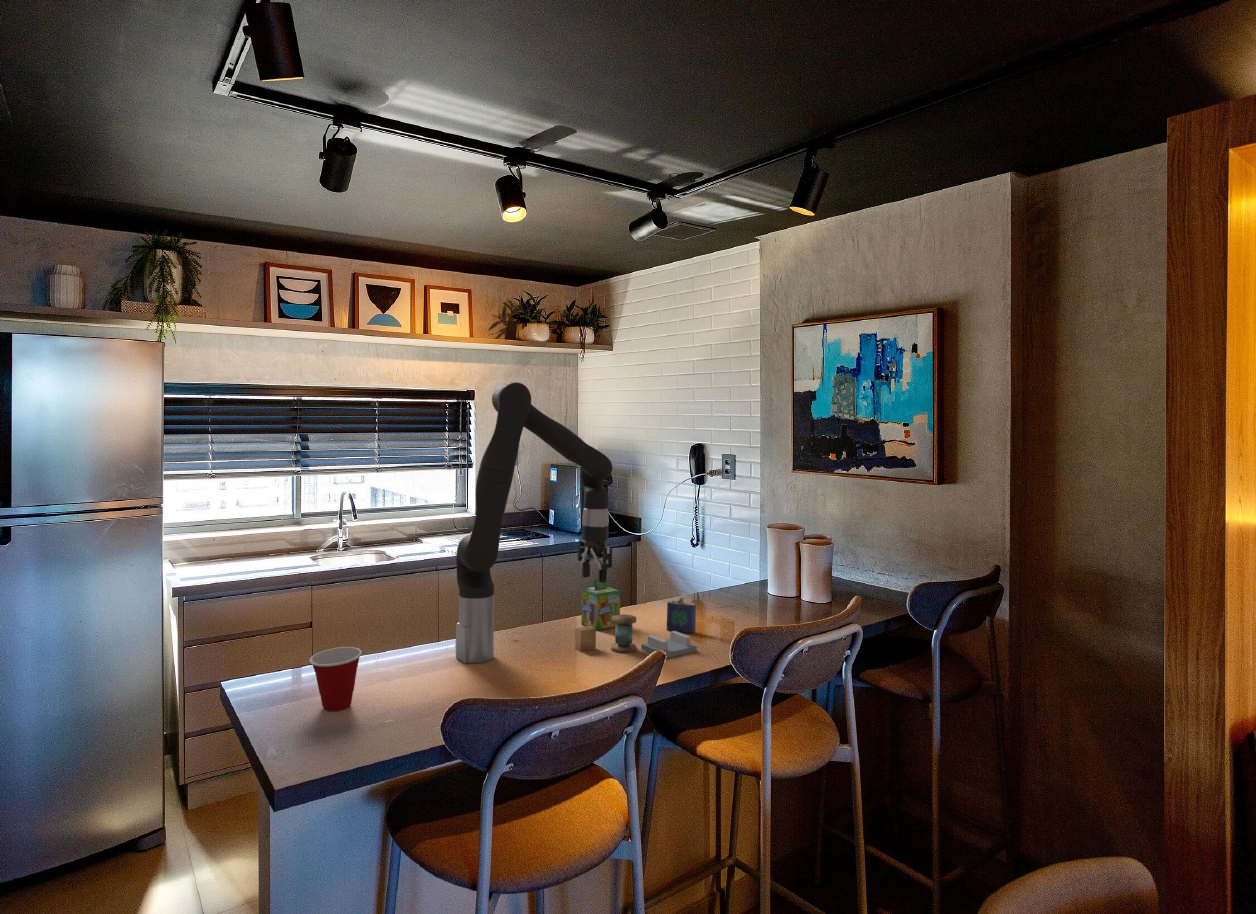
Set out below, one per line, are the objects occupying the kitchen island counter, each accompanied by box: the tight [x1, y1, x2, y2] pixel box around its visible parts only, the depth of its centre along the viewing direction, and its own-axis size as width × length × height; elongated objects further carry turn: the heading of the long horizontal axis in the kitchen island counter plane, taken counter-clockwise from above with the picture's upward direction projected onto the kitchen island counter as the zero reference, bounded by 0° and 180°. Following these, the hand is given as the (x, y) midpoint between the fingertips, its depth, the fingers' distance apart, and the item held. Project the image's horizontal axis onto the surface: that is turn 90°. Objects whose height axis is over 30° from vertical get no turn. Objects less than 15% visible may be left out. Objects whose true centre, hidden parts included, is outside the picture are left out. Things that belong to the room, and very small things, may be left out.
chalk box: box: [580, 578, 621, 631], centre depth 234 cm, size 9×9×15 cm
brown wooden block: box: [574, 626, 597, 653], centre depth 209 cm, size 5×3×6 cm, turn 125°
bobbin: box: [610, 613, 637, 654], centre depth 209 cm, size 7×7×9 cm
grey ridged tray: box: [640, 631, 698, 659], centre depth 209 cm, size 12×10×4 cm
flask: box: [666, 596, 697, 635], centre depth 228 cm, size 9×3×11 cm, turn 68°
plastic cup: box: [309, 646, 363, 713], centre depth 164 cm, size 11×11×12 cm
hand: (594, 579), depth 214 cm, fingers open, 8 cm apart
